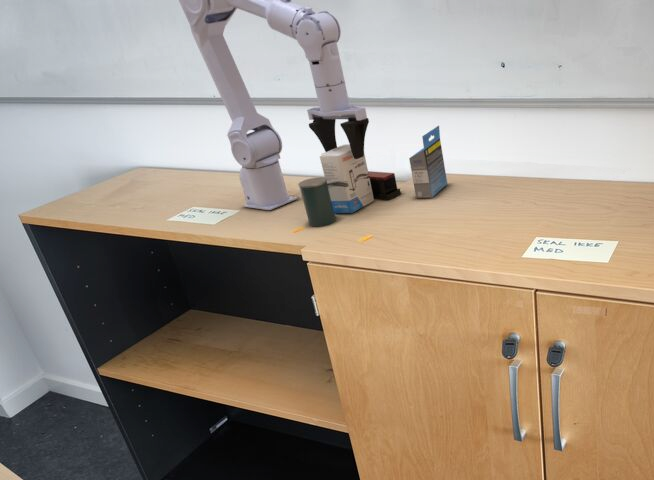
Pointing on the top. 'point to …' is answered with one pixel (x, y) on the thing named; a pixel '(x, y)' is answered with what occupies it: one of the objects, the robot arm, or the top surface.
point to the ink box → (346, 179)
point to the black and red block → (383, 185)
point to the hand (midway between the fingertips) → (345, 156)
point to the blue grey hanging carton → (429, 167)
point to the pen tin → (317, 201)
